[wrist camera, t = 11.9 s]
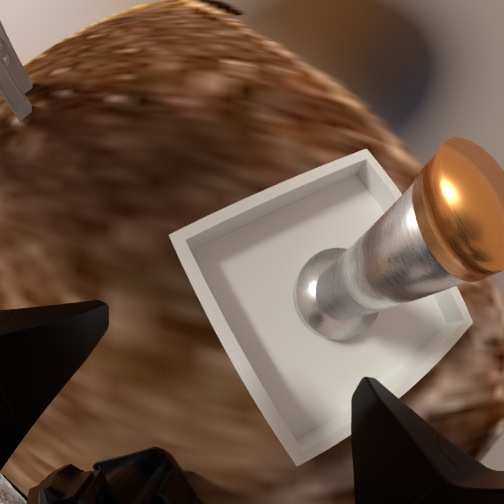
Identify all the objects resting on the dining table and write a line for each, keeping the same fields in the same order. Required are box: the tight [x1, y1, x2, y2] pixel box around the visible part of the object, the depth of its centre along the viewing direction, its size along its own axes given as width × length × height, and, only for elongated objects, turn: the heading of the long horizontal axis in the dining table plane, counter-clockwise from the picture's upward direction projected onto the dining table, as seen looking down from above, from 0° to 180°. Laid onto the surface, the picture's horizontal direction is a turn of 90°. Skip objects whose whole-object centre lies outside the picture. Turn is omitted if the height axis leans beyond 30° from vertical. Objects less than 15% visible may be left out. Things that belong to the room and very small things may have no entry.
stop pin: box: [293, 137, 504, 340], centre depth 11 cm, size 6×6×14 cm
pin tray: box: [169, 149, 473, 466], centre depth 17 cm, size 16×16×3 cm
